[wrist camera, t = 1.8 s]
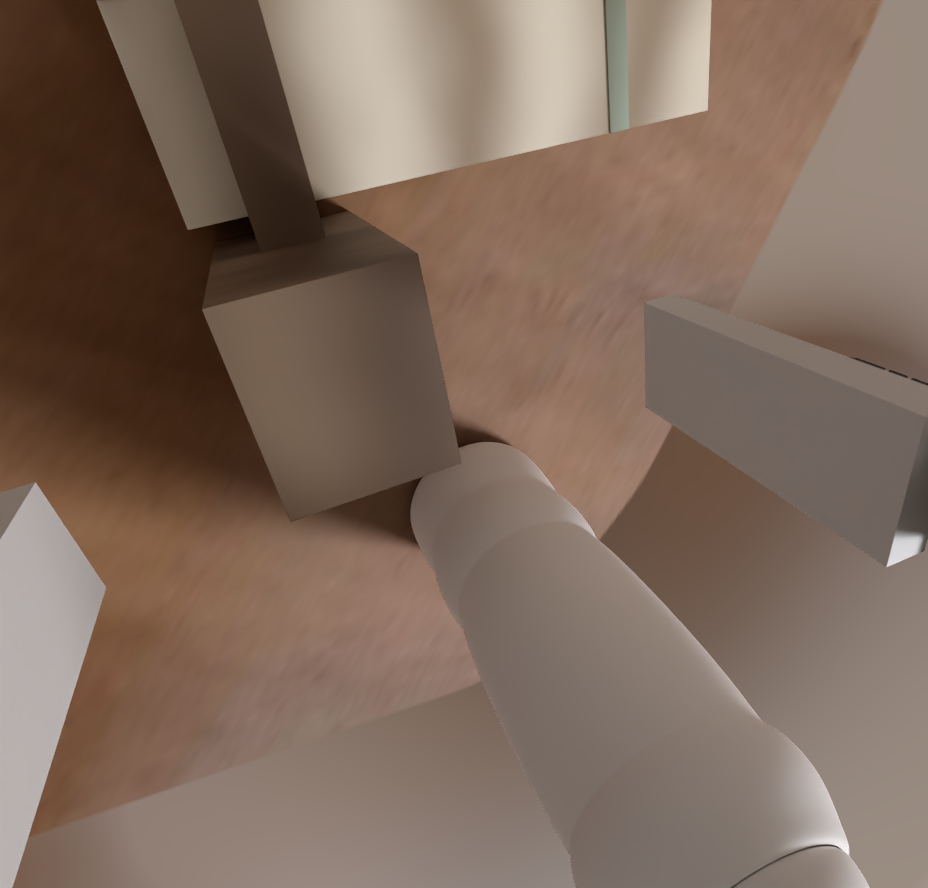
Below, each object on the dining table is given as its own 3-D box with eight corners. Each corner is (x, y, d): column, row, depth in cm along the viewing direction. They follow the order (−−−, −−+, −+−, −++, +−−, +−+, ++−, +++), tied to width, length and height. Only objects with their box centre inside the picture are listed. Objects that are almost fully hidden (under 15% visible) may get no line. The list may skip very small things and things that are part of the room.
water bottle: (387, 546, 30) (756, 1524, 9) (435, 422, 27) (1086, 1338, 6) (504, 560, 33) (982, 1305, 12) (555, 451, 31) (1257, 1129, 10)
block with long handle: (271, 389, 24) (290, 521, 16) (108, -36, 17) (-14, -208, 9) (386, 356, 25) (461, 463, 17) (278, -60, 18) (315, -233, 10)
